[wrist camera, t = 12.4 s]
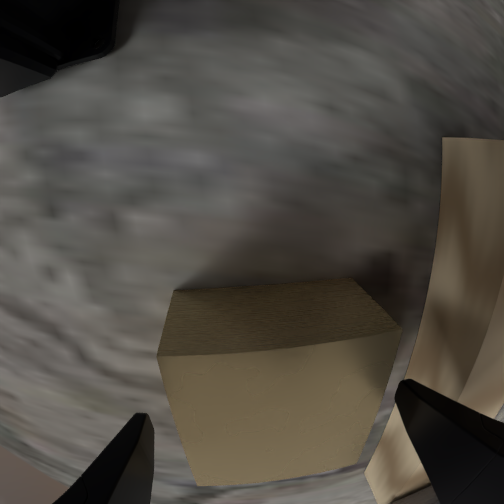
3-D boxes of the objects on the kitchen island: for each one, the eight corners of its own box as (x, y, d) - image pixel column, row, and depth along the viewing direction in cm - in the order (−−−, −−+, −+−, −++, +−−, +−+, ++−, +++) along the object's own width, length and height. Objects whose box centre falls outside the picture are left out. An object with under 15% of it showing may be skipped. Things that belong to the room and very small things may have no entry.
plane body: (442, 137, 10) (517, 141, 6) (511, 153, 10) (570, 164, 6) (363, 473, 16) (381, 512, 13) (423, 451, 17) (443, 484, 13)
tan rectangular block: (174, 287, 11) (156, 356, 7) (348, 275, 11) (403, 329, 7) (197, 417, 13) (197, 486, 9) (329, 402, 13) (356, 463, 10)
